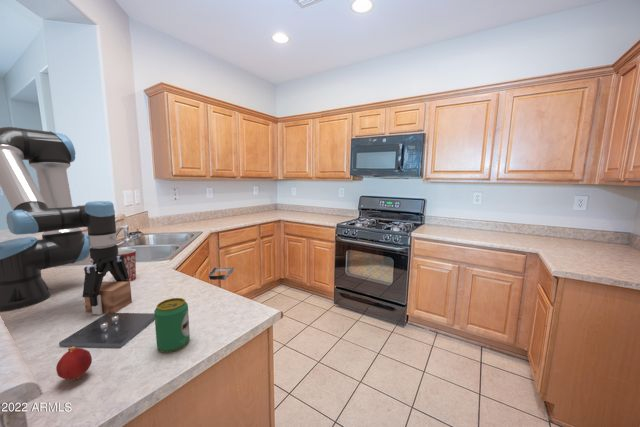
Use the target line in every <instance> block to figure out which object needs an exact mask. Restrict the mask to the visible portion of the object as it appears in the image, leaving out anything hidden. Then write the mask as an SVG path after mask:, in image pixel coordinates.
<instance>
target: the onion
mask: <svg viewBox="0 0 640 427" xmlns="http://www.w3.org/2000/svg"><path fill="white" fill-rule="evenodd" d="M67 350H68V351H67V352H65V353H64V354H63V355H62V356H61V358H60V359H59V360H58V362H57V364H56V367H55V368H56V369H55V370H56V374H57V376H58V377H59V378H61V379H64V380H72V381H74V380H73V379H76V380H78V379H80V378H81V377H82V376H83V375H85V373H86V372H87V371H88V370H89V368H90V367H91V365H92V362H93V357H92V355H91V353H90V351H89V350H87V349H85V348H83V347H69V348H68V349H67ZM77 378H78V379H77Z"/></svg>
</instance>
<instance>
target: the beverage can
mask: <svg viewBox="0 0 640 427" xmlns="http://www.w3.org/2000/svg"><path fill="white" fill-rule="evenodd" d="M153 313H154V315H155V320H154V325H155V340H156V347H157V348H158V350H159V351H160V352H161V353H166V354H168V353H173V352H177V351H179V350H181V349H183V348H185V346H187V344H188V343H189V340H190V338H191V335H190V320H189V319H190V317H189V305H188V303H187V301H186V299H185V298H183V297H182V298H181V297H174V298H173V297H172V298H167V299H165V300H162V301H160V302H159V303H158V304H156V308H155V309H154V311H153Z"/></svg>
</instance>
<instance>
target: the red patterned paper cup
mask: <svg viewBox="0 0 640 427" xmlns="http://www.w3.org/2000/svg"><path fill="white" fill-rule="evenodd" d="M117 256H124V263H125V266H126V269H127V272H128V275H129V279H126V280H128V281H127V282H130V283H131V282H133V281H134V280H136V279H137V267H136V266H137V264H136V263H137V249H136V248H135V249H134V248H122V249H118V255H117ZM124 276H125V275H124ZM115 282H117V281H116V280H115Z"/></svg>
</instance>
